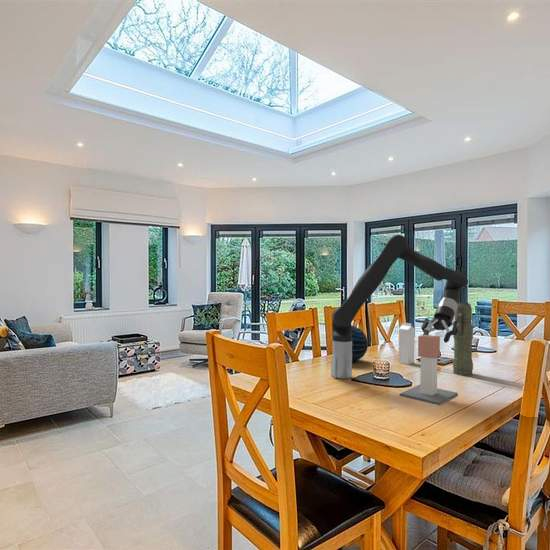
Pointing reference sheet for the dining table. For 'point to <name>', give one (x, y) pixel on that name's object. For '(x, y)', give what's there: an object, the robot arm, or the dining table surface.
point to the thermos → (463, 340)
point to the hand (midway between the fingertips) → (434, 340)
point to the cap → (429, 346)
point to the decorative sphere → (357, 343)
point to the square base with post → (428, 384)
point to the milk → (406, 343)
